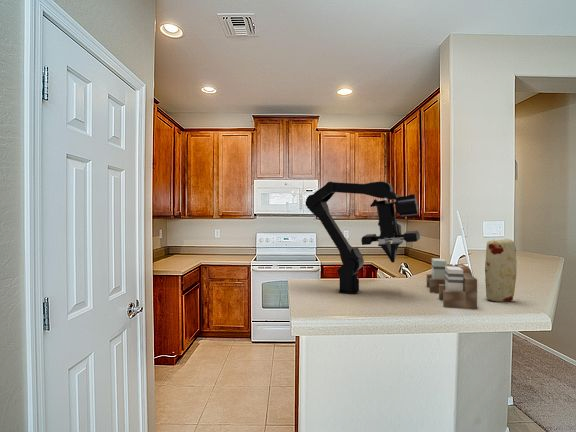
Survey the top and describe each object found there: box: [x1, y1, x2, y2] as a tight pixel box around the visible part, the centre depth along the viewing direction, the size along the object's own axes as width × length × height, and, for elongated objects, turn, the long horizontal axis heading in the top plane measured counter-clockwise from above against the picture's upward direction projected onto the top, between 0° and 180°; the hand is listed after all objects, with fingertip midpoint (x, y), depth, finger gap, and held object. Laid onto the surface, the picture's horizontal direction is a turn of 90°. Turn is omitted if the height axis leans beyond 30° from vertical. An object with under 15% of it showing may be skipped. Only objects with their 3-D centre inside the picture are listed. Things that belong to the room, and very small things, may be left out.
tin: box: [453, 263, 473, 276], centre depth 125 cm, size 15×3×8 cm, turn 168°
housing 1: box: [426, 263, 455, 294], centre depth 120 cm, size 9×10×9 cm
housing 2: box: [438, 273, 478, 310], centre depth 102 cm, size 9×10×9 cm
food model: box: [484, 238, 518, 303], centre depth 106 cm, size 10×7×20 cm
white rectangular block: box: [445, 265, 464, 291], centre depth 103 cm, size 4×6×11 cm
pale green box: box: [430, 257, 447, 279], centre depth 120 cm, size 4×6×11 cm
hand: (393, 262), depth 115 cm, fingers closed
